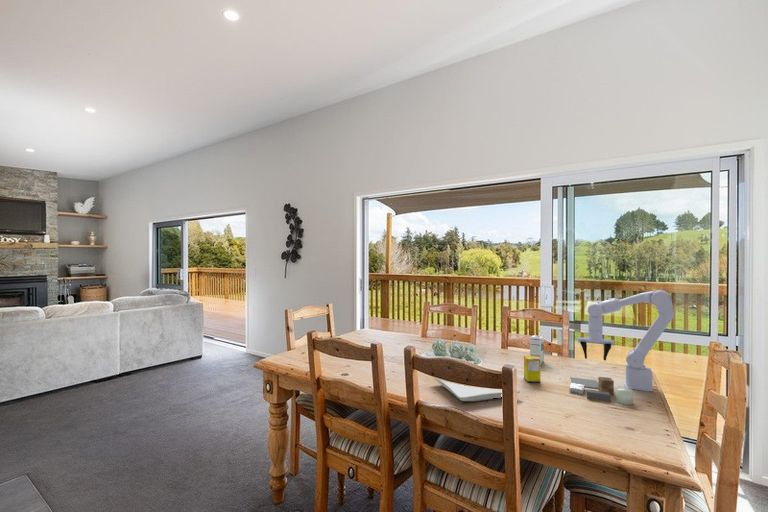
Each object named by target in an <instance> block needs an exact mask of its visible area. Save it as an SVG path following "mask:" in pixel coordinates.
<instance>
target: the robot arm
mask: <svg viewBox="0 0 768 512" xmlns="http://www.w3.org/2000/svg"><path fill="white" fill-rule="evenodd" d="M639 303H645V304H651V303H652V304H653V306H655V307H656V310H657V312H658V316H657V317H656V319H655V320H654V321H653V322H652V323H651V325H650V327H649V328H648V329H647V331H646V333H645V334H644V336H643V337H642V338H641V339H640V341H639V342H638V344H637V345H636V346H635V347H634V348H633V349H631V350H629V351H628V354H627V356H626V358H625V360H626V364H625V381H623V382H622V383H623V385H624V387H626V388H629V389H632V390H635V391H644V392H645V391H646V392H654V391H653V372H652V371H653V370H652V369H651V368H649V367H646V365H645V364H644V363H645V360H646V359H645V358H646V357H647V355H648V354H649V351H650V350H652V347H653V346H654V345H655V343H656V342H657V341H658V340H659V338H660V337H661V336H662V333H664V331H665V330H666V329H667V328H668V326H669V325H670V323H671V322H672V320H673V319H674V317H675V314H674V307H673V299H672V297H671V296H670V294H669V292H667V291H666V290H664V289H656V290H654V291H653V290H652V291H644V292H641V293H638V294H634V295H631V296H627V297H625V298H621V299H618V298H616V297H613V298H612V297H610V298H608V299H606V300H603V301H597V303H595V302H594V303H592V304H590V305H589V306H588V307H587V313H588V321H587V323H588V324H587V326H588V329H587V334H588V335H587V337H580V336H579V337H577V343H579V344H580V346H581V348H582V351H583V355H584V359H586V360H587V359H588V354H587V353H588V352H587V351H588V350H587V349H588V345H587V343H588V344H596V345H597V344H598V345H603V361H607V357H608V354H609V352H610V351H611V349H612V346H614V345H615V341H614V340H613V339H607V338H603V315H607V314H611V313H614V312H619V311H621V309H622V307H626V306H631V305H633V304H639Z"/></svg>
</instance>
